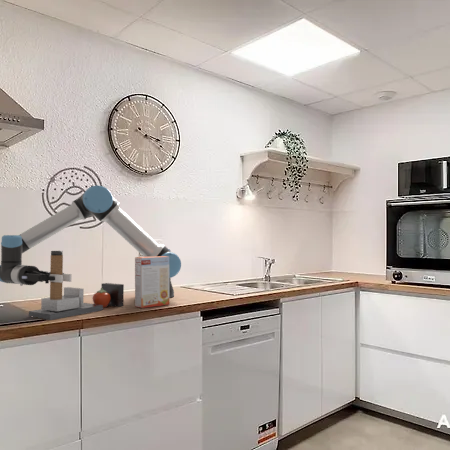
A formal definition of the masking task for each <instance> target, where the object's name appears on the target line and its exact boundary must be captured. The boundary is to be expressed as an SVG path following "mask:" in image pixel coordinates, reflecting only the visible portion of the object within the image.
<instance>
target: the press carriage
mask: <svg viewBox="0 0 450 450" xmlns="http://www.w3.org/2000/svg"><path fill="white" fill-rule="evenodd" d="M63 256H64V255H63V250H51V251H50V270H49V272H50V274H56V275H63V273H64V272H63V269H64V268H63V265H64V264H63V263H64V257H63ZM49 285H50V286H49V297H43V298H41V300H40V301H41V305H40V306H41V308H40V309H43V310H50V311H63V310H68V309H74V308H80V307H83V303H84V295H85V294H84V292H85V291H84V288H82V287H70V286H67V287H63V283H59V282H49Z"/></svg>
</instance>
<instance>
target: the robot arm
mask: <svg viewBox="0 0 450 450" xmlns="http://www.w3.org/2000/svg"><path fill="white" fill-rule="evenodd" d="M92 216H94V217H95V218H96V219H97V220H98V221H100V222H105V223H106V224H108V225H109V226H110V227H111V228H112V229H113V230H114V231H115V232H116V233H118V235H120V236H121V238H123V239H124V240H125V241H126V242H127V243H128V244H129V245H130V246H132V247H133V248H134V249H135V250H136V251H137V252H138V253H139V254H140V255H141V257H153V256H168V257H169V299H170V298H173V297H174V296H175V291H174V287H173V284H172V281H171V279H172V278H174V277H175V276H177V275H178V273H180V272H181V268H182V261H181V258H180V257H179V256H178V255H177V254H176V253H175V252H172V251H171V249H169V248H168V247H167V246H166V245H165V244H163V243H161V244H160V243H158V242H157V241H156V240H155V239H153V238H152V236H150V235H149V234H148V233H147V232H146V231H145V230H144V229H143V228H142V227H141V226H140V225H139V224H137V223H136V222H135V221H134V219H132V218H131V217H130V216H129V215H128V214H127V213H126V212H125V211H124V210H123V209H122V208H120V201H119V200H118V199H116V198H115V197H114V196H113V194H112V192H111V191H110V189H108V188H107V187H105V186H102V185H99V184H98V185H97V184H96V185H92V186H90V187H88V188H87V189H85V191H84V193H83V194H81V195H80V196H79V197H77V198H76V199H74V200H73V201H71V204H70V205H69V206H67V207H66V208H64V209H61V210H60V211H58V212H57V213H55V214H53V215H51V216H49V217H48V218H46V219H44V220H42V221H40V222H39V223H37V224H35V225H34V226H32V227H31V228H29V229H27V230H25V231H24V232H21V233H20V234H18V235H17V234H16V235H15V234H12V235H11V234H10V235H9V234H7V235H6V234H4V235H2V236H1V242H0V245H1V246H0V247H1V248H0V249H1V251H0V252H1V254H0V255H1V256H0V257H1V258H0V282H2V283H4V284H12V285H13V284H14V285H16V284H17V285H19V286H20V287H22V286H23V285H24V286H34V285H36V284H37V283H39V282H40V283H43V282H45V284H50V282H59V283H62V284H63V282H69V283H71V282H72V274H71V273H65V272H63V275H56V274H50V271H44V270H40V269H39V268H38V267H37V266H36V265H27V264H26V265H25V264H22V262H23V261H22V258H23V257H22V254H23V253H25V252H28V250H30V249H32V248H34V247H35V246H37V245H38V244H41V243H42V242H44V241H45V240H47V239H49V238H50V237H53V236H54V235H56V234H58V233H59V232H61V231H62V230H63V231H64V229H66V228H68V227H69V226H71V225H72V224H74V223H77V222H78V221H79V220H86V219H88V218H89V217H92Z"/></svg>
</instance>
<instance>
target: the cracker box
mask: <svg viewBox="0 0 450 450" xmlns="http://www.w3.org/2000/svg"><path fill="white" fill-rule="evenodd" d="M168 305H170V298H169V257H168V256H153V257H144V256H136V257H134V306H135V307H136V308H141V309H145V308H146V309H147V308H152V307H162V306H168Z"/></svg>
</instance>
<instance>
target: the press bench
mask: <svg viewBox="0 0 450 450" xmlns="http://www.w3.org/2000/svg"><path fill="white" fill-rule="evenodd" d="M124 286H125V285H124V284H123V283H112V282H104V283H101V288H103V290H105V291H106V292H107V293H109V294H110V296H111V300H110V303H109V304H108V306H111V307H118V308H119V307H124V301H125V300H124V295H125V294H124V290H125V289H124V288H125V287H124ZM101 288H100V289H101ZM103 310H104V308H103V305H98V304H94V303H90V302H89V303H88V302H83V307H80V308H74V309H68V310H63V311H50V310H43V309H41V308H40V309H34V310H28V317H29V316H33V317H38V318H37V319H40V318H43V319H42V320H47V321H52V320H57V319H63V318H69V317H74V316H80V315H85V314H91V313H95V312H101V311H103ZM33 317H32V318H33Z"/></svg>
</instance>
